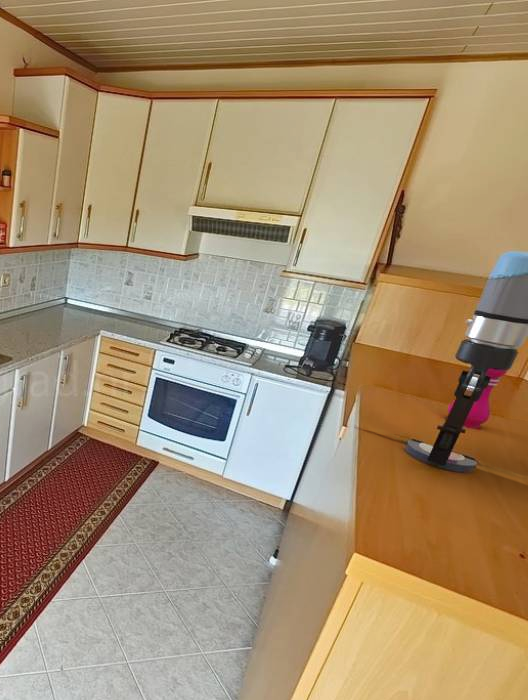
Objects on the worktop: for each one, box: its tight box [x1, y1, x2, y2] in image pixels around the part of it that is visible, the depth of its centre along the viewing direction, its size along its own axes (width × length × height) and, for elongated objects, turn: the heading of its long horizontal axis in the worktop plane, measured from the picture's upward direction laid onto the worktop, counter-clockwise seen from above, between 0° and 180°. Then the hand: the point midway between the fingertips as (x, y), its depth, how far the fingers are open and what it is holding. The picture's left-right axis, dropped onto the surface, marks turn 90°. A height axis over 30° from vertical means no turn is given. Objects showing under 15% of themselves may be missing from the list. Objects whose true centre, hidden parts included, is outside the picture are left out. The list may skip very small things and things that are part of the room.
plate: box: [404, 438, 478, 474], centre depth 97 cm, size 11×11×2 cm
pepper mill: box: [447, 364, 508, 429], centre depth 112 cm, size 7×7×20 cm
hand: (436, 461), depth 93 cm, fingers closed
